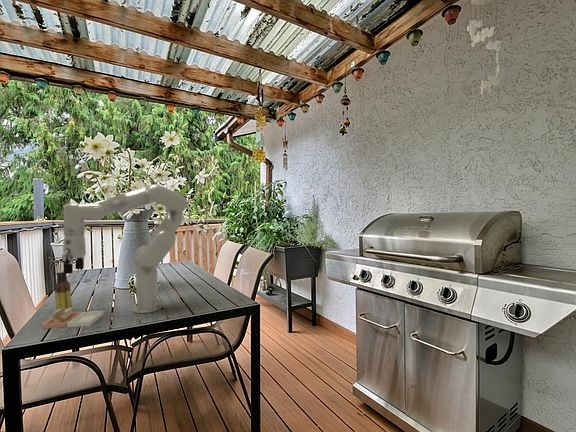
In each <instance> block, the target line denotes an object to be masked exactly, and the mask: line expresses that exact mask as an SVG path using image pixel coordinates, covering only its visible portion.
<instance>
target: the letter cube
mask: <svg viewBox="0 0 576 432" xmlns="http://www.w3.org/2000/svg"><path fill="white" fill-rule="evenodd" d="M72 312H73V307H72V308H64V309H58V310H55V311H54V312H52V318H53V323H64V322H66V321H67V320H69V319H70V318H72Z"/></svg>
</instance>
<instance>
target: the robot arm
mask: <svg viewBox="0 0 576 432" xmlns="http://www.w3.org/2000/svg"><path fill="white" fill-rule="evenodd" d="M153 203H157V204H159V205H161V206H162V207H165V211H166V213H165V216H164V218H163V219H162V221H161V222H160V223H159V224H158V225H157V226H156V228H155V229H154V230H153V231H152V232H151V235H150V242H149V244H148V245H147V244H145V245H144V244H143V245H141V246H139V247H138V248H137V249H136V250H135V253H134V263H135V265H134V266H135V276H136V277H135V279H136V280H135V282H136V285H135V286H136V287H135V288H136V290H135V293H136V306H134V307H133V310H132V311H133V313H134V314H135V313H136V314H148V313H154V312H157V311H159V310H160V309H161V308H162V306H167V304H168V303H167V300H160V297H158V296H159V295H158V265H160V263H161V262H162V261H163V260H164V259H165V257H166V256H167V255H168V254H169V252H171V249H172V248H173V246H174V245H175V243H176V234H175V233H176V232H177V230H178V229H179V228H180V226H181V224H182V223H183V218H184V212H183V211H184V210H185V209H186V208H187V207H188V200H187V198H186V197H185V196H184V195H182V194H180V193H178V192H176V191H174V190H172V189H170V188H167V187H165V186H163V185H160V184H151V185H146V186H143V187H140V188H137V189H133V190H130V191H126V192H123V193H120V194H117V195H115V196H112V197H109V198H107V199H103V200H99V201H95V202H92V203H84V204H83V203H75V202H73V203H65V204H64V205H63V236H64V238H63V248H62V249H63V250H62V251H63V253H62V254H61V258H62V265H63V271H64V274H66V275H67V274H68V275H69V274H70V275H71V274H73V272H74V271H73V270H74V269H73V268H74V267H73V266H74V265H73V260H75V263H74V264H75V270H83V269H85V268H84V267H85V265H84V263H85V256H86V253H87V252H86V251H87V249H86V239H85V220H87V221H88V220H89V221H100V220H102V219H103V218H104V217H106V216H111V215H114V214H116V213H122V212H129V211H132V210H135V209H138V208H140V207H145V206H147V205H150V204H153Z"/></svg>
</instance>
